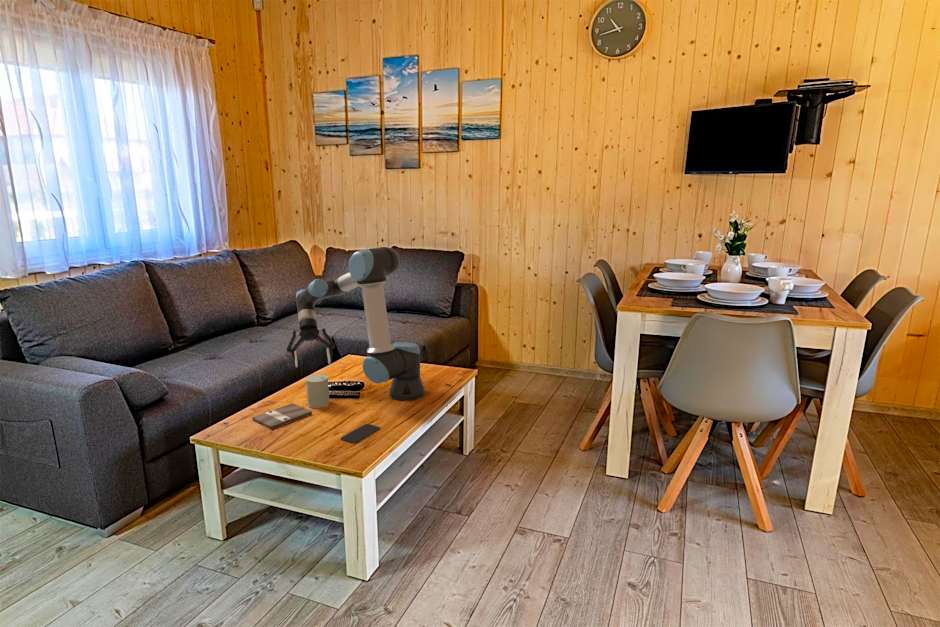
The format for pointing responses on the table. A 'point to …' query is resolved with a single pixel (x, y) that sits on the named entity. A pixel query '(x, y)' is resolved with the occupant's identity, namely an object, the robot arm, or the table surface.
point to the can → (317, 390)
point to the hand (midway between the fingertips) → (313, 364)
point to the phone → (360, 433)
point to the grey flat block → (281, 415)
